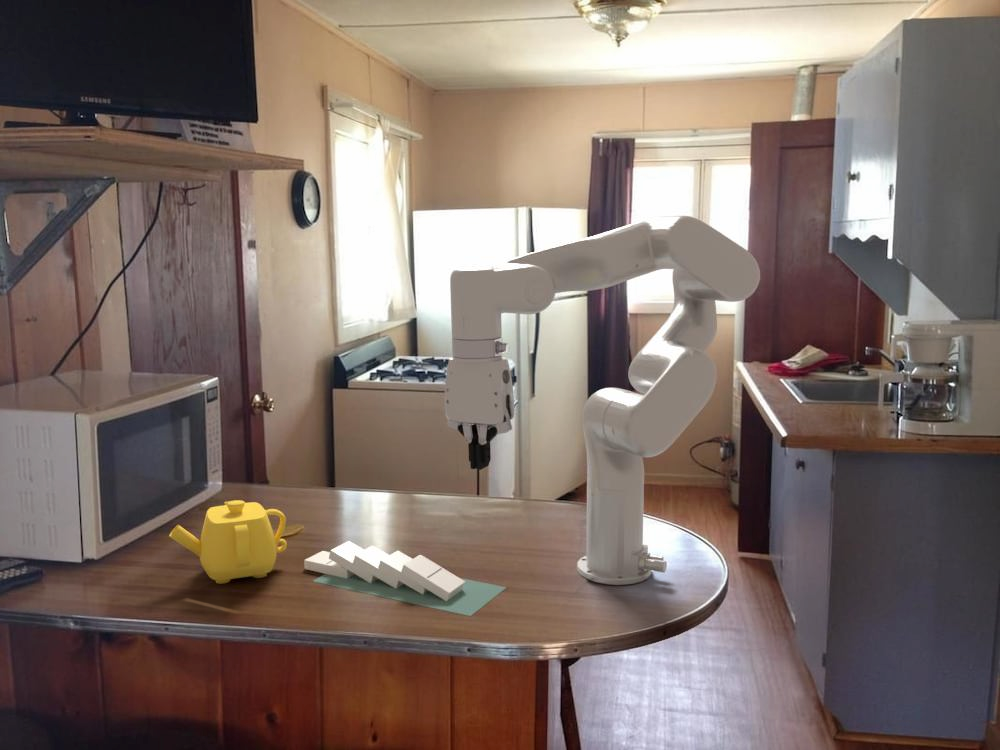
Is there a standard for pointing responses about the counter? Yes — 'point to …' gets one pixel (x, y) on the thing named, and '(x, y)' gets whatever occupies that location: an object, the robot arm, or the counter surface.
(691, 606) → the counter surface
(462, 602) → the runner mat
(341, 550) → the domino
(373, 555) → the domino
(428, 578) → the domino
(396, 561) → the domino
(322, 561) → the domino
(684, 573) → the counter surface
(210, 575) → the teapot
